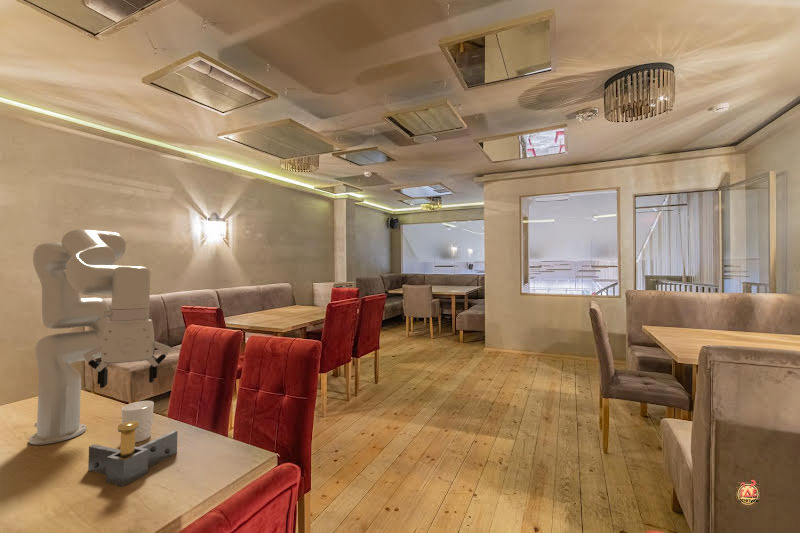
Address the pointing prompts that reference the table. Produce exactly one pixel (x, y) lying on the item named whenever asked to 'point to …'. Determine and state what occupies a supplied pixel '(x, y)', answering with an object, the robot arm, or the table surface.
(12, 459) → the table surface
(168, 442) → the hinge body
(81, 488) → the table surface
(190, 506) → the table surface
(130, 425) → the hinge pin
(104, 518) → the table surface
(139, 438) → the white cup
